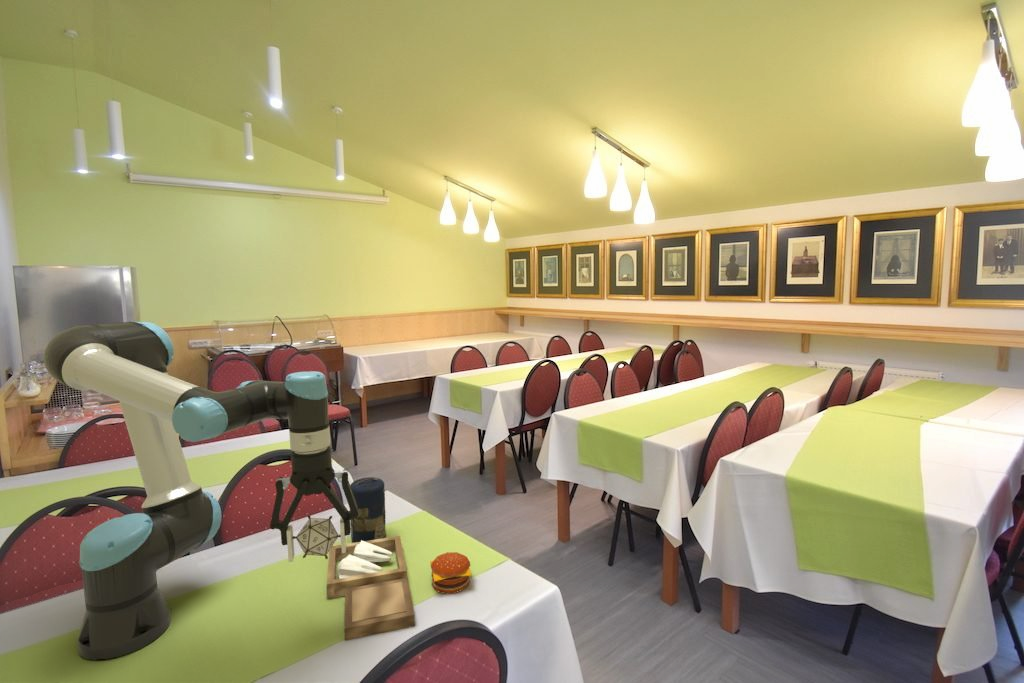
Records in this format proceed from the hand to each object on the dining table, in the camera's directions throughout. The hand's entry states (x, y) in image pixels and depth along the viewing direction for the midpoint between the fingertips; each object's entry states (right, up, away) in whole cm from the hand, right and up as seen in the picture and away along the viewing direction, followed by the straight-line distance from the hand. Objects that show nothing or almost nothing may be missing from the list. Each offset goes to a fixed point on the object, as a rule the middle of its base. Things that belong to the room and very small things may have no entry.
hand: (318, 554), depth 104 cm
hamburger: (+25, -14, +17) cm, 34 cm away
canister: (0, -12, +38) cm, 39 cm away
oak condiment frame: (+4, -14, +22) cm, 26 cm away
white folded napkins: (+4, -14, +22) cm, 26 cm away
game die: (0, 0, 0) cm, 0 cm away
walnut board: (+11, -15, +7) cm, 20 cm away
